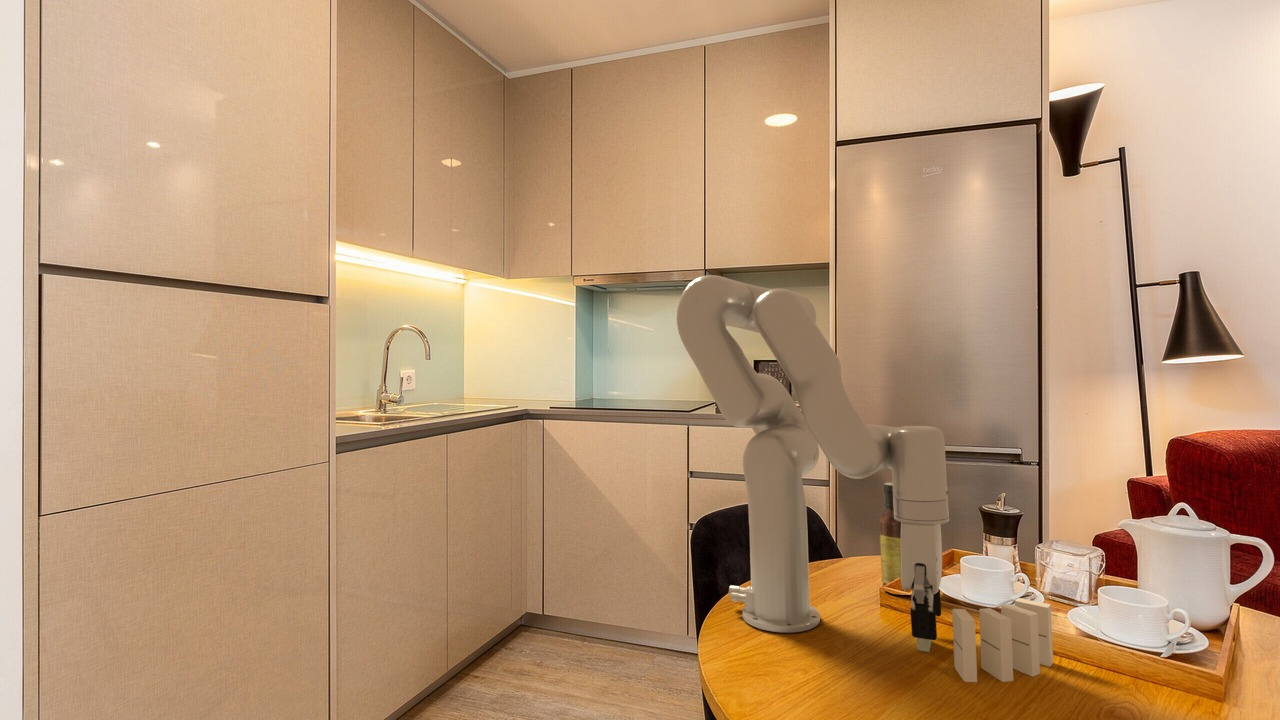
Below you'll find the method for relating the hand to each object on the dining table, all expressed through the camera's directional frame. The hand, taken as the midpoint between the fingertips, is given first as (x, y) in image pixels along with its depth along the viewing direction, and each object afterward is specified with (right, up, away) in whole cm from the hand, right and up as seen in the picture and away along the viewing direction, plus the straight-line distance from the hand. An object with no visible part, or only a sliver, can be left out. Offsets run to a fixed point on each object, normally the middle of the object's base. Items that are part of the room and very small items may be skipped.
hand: (927, 625), depth 93 cm
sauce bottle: (+6, -4, +23) cm, 24 cm away
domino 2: (+5, -3, -9) cm, 11 cm away
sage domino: (0, -3, 0) cm, 3 cm away
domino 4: (+13, -3, -5) cm, 14 cm away
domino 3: (+9, -3, -8) cm, 12 cm away
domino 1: (+1, -3, -9) cm, 9 cm away
